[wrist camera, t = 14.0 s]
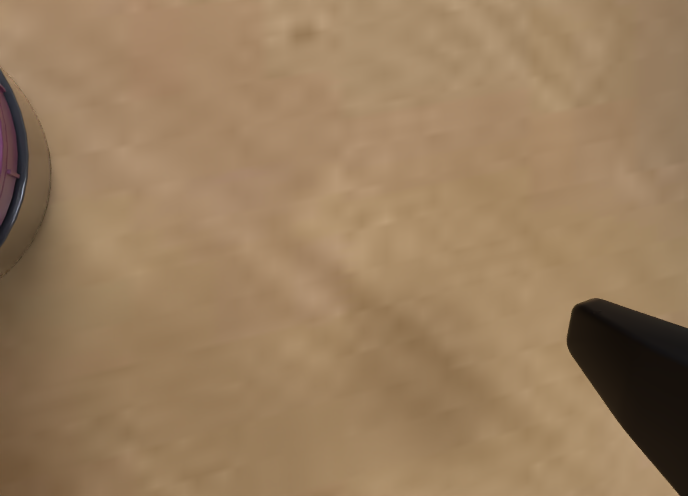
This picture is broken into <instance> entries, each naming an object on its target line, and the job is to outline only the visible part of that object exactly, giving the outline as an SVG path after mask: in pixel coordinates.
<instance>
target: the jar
mask: <svg viewBox="0 0 688 496" xmlns="http://www.w3.org/2000/svg"><path fill="white" fill-rule="evenodd" d="M0 84H1V85H2V86H3V87H4V88H5V90H6V92H4V93H3V94H4V96H5V99H6V101H7V104H8V106H9V109H10V111H11V115H12V120H13V124H14V128H15V132H16V141H17V152H18V160H17V173H18V174H19V175H20V178H19V179H18V178H16V181H15V186H14V191H13V196H12V199H11V202H10V205H9V208H8V210H7V213H6V216H5V218H4V220H3V222H2V224H1V226H0V278H1V277H3V276H4V275H5V274H6V273H7V272H8V271H9V270H10V269H11V268H12V267H13V266H14V265H15V264H16V263H17V261H18V260H19V259H20V258H21V257H22V255H23V254H24V253H25V251H26V250H27V248H28V247H29V245H30V244H31V243H32V241H33V239H34V237H35V235H36V233H37V231H38V229H39V227H40V225H41V223H42V220H43V217H44V214H45V211H46V208H47V203H48V198H49V193H50V181H51V166H50V157H49V150H48V146H47V142H46V138H45V134H44V132H43V129H42V127H41V124H40V122H39V119H38V117H37V115H36V113H35V111H34V110H33V108H32V106H31V104H30V102H29V101H28V99H27V98H26V96H25V95H24V94H23V92H22V91H21V90H20V88H19V87H18V86H17V84H16V83H15V82H14V81H13V80H12V79H11V77H10V76H9V75H8V74H7V73H6V72H5V71H4V69H3V68H2V67H1V66H0Z"/></svg>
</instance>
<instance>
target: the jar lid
mask: <svg viewBox="0 0 688 496" xmlns="http://www.w3.org/2000/svg"><path fill="white" fill-rule="evenodd" d="M4 92H6V90H5V88H4V87H3V86H2V85H1V84H0V226H1V224H2V222H3V220H4V218H5V216H6V213H7V210H8V208H9V205H10V202H11V199H12V196H13V191H14V186H15V181H16V178H18V179H19V178H20V175H19V174H18V173H17V160H18V152H17V141H16V132H15V128H14V124H13V120H12V115H11V111H10V109H9V106H8V104H7V101H6V99H5V96H4V94H3V93H4Z"/></svg>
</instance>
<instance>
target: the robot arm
mask: <svg viewBox="0 0 688 496" xmlns="http://www.w3.org/2000/svg"><path fill="white" fill-rule="evenodd" d="M567 346H568V349H569V351H570V353H571V355H572V356H573V358H574V359H575V361H576V362H577V364H578V365H579V367H580V368H581V369H582V371H583V372H584V374H585V375H586V377H587V378H588V379H589V381H590V382H591V384H592V385H593V387H594V388H595V389H596V391H597V392H598V394H599V395H600V397H601V398H602V400H603V401H604V402H605V404H606V405H607V407H608V408H609V410H610V411H611V412H612V414H613V415H614V417H615V418H616V419H617V421H618V422H619V423H620V425H621V426H622V427H623V429H624V430H625V431H626V432H627V434H628V435H629V436H630V437H631V439H632V440H633V441H634V442H635V443H636V444H637V446H638V447H639V448H640V449H641V450H642V452H643V453H644V454H645V455H646V456H647V457H648V459H649V460H650V461H651V462H652V463H653V464H654V466H655V467H656V468H657V469H658V470H659V472H660V473H661V474H662V475H663V476H664V477H665V479H666V480H667V481H668V482H669V483H670V484H671V486H672V487H673V488H674V489H675V490H676V492H677V493H678V494H679V495H680V496H688V328H685V327H682V326H679V325H676V324H673V323H670V322H667V321H664V320H661V319H658V318H656V317H653V316H650V315H647V314H644V313H641V312H638V311H635V310H632V309H629V308H626V307H623V306H620V305H617V304H614V303H611V302H608V301H605V300H602V299H598V298H594V299H590V300H587V301H584V302H582V303H579V304H577V305H575V306H574V308H573V309H572V313H571V318H570V323H569V329H568V334H567Z"/></svg>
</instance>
